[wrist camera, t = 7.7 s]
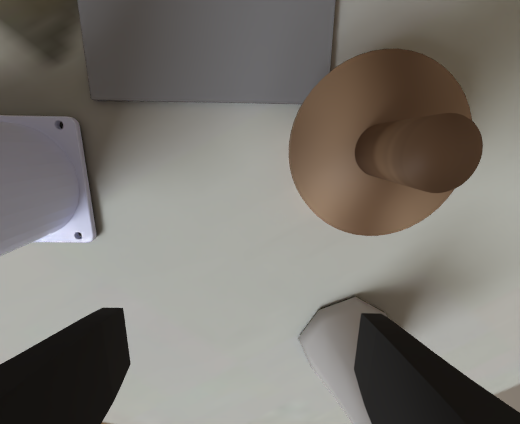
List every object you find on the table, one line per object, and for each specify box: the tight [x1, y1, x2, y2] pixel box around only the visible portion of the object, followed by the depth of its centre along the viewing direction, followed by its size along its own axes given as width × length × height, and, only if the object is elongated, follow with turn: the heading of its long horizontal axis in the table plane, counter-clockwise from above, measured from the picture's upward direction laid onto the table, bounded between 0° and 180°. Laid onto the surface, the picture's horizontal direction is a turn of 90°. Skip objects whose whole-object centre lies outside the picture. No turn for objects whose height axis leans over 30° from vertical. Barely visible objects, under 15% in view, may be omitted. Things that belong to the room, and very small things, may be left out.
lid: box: [289, 49, 483, 236], centre depth 11 cm, size 9×9×5 cm
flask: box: [298, 297, 388, 424], centre depth 16 cm, size 7×7×10 cm
